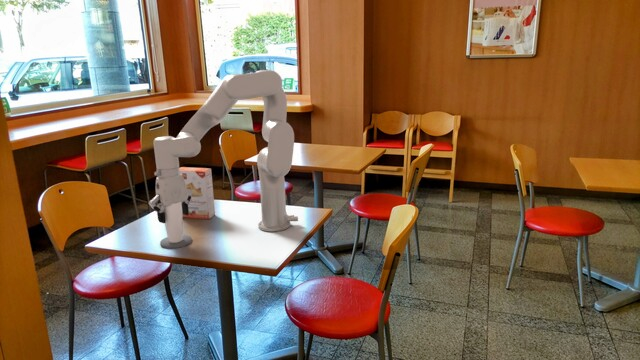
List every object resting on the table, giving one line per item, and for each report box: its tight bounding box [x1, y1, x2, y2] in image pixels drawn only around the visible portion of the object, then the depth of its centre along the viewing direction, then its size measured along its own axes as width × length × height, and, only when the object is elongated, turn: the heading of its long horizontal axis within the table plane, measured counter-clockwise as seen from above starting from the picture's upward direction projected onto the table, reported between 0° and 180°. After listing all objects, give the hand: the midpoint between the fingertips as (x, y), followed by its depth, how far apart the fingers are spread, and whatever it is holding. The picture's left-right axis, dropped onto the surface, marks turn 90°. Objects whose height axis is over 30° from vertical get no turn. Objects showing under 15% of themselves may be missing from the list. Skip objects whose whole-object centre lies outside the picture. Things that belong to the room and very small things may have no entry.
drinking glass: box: [163, 202, 184, 243], centre depth 159 cm, size 7×7×15 cm
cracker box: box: [179, 166, 216, 220], centre depth 186 cm, size 14×6×21 cm, turn 77°
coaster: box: [159, 234, 193, 250], centre depth 161 cm, size 11×11×1 cm
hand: (174, 218), depth 159 cm, fingers open, 9 cm apart
